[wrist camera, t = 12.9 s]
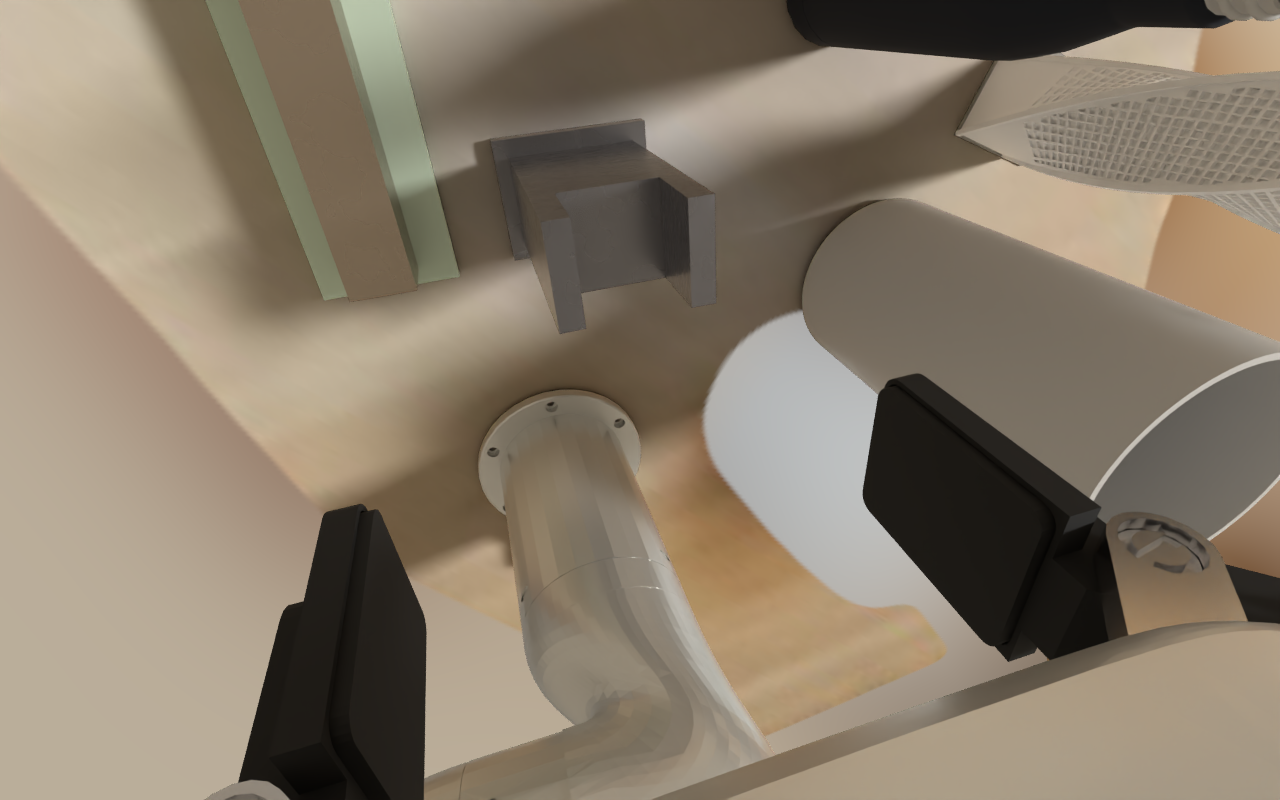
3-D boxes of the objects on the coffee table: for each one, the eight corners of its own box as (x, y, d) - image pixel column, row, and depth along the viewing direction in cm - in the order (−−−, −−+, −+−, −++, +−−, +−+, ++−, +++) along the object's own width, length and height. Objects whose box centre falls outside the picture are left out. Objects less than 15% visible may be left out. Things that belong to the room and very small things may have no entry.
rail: (418, 268, 37) (417, 290, 34) (356, 279, 36) (349, 302, 33) (247, -317, 24) (220, -363, 21) (144, -317, 23) (102, -365, 20)
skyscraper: (1005, 183, 47) (1549, 347, 24) (929, 150, 43) (1474, 302, 21) (1075, 64, 43) (1794, 123, 20) (998, 18, 40) (1751, 25, 17)
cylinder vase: (910, 157, 43) (1338, 288, 23) (962, 281, 50) (1322, 465, 30) (769, 274, 45) (1047, 493, 24) (837, 378, 52) (1098, 614, 31)
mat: (459, 273, 38) (459, 276, 38) (325, 296, 37) (324, 300, 37) (299, -349, 24) (297, -357, 24) (70, -352, 23) (62, -359, 22)
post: (648, 233, 41) (732, 319, 29) (513, 256, 39) (545, 357, 27) (640, 118, 37) (732, 166, 25) (489, 139, 35) (515, 199, 24)
